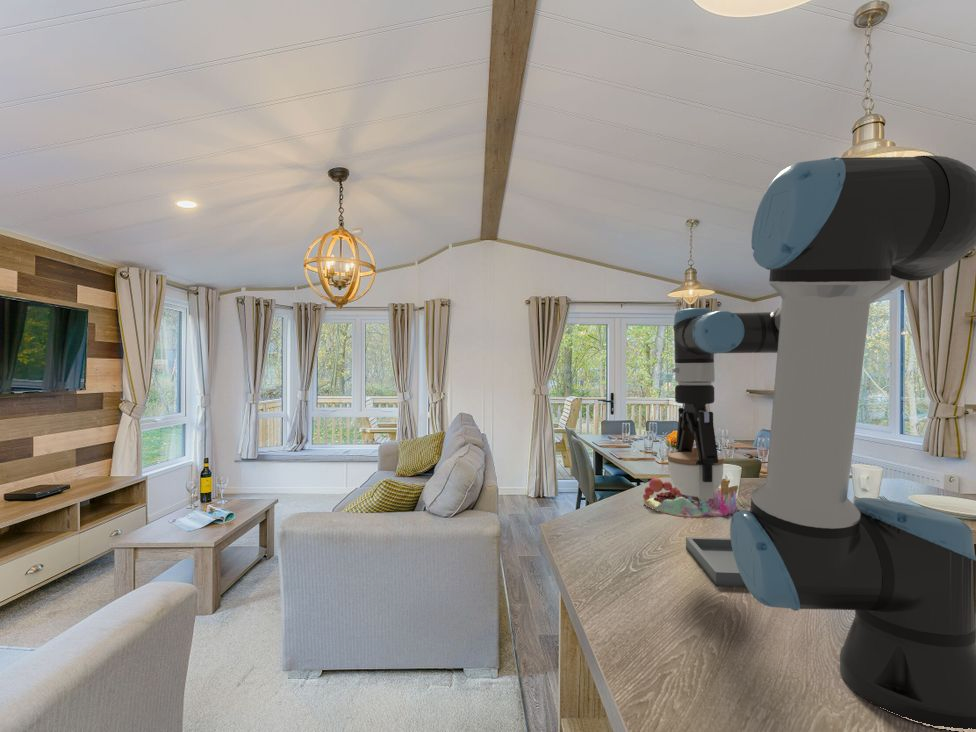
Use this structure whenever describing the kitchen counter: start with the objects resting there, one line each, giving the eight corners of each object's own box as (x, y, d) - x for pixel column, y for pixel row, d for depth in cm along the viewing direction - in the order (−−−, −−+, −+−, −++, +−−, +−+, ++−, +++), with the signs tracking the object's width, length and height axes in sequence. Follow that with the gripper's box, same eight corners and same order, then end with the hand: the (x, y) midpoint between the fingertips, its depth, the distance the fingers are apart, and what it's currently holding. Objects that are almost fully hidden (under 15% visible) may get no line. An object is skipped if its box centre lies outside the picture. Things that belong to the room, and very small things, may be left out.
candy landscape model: (678, 493, 166) (678, 465, 166) (752, 508, 148) (751, 477, 148) (632, 506, 151) (632, 475, 151) (708, 525, 132) (708, 490, 132)
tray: (829, 589, 93) (829, 576, 93) (715, 585, 95) (715, 572, 95) (778, 550, 113) (778, 539, 113) (685, 548, 115) (685, 537, 115)
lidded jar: (731, 501, 98) (730, 452, 98) (673, 499, 99) (672, 451, 99) (715, 488, 108) (715, 444, 108) (663, 487, 110) (663, 443, 110)
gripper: (660, 383, 116) (661, 479, 116) (694, 385, 93) (696, 505, 92) (694, 383, 115) (695, 479, 115) (736, 385, 92) (738, 506, 92)
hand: (695, 491), depth 104 cm, fingers closed on lidded jar, 11 cm apart
